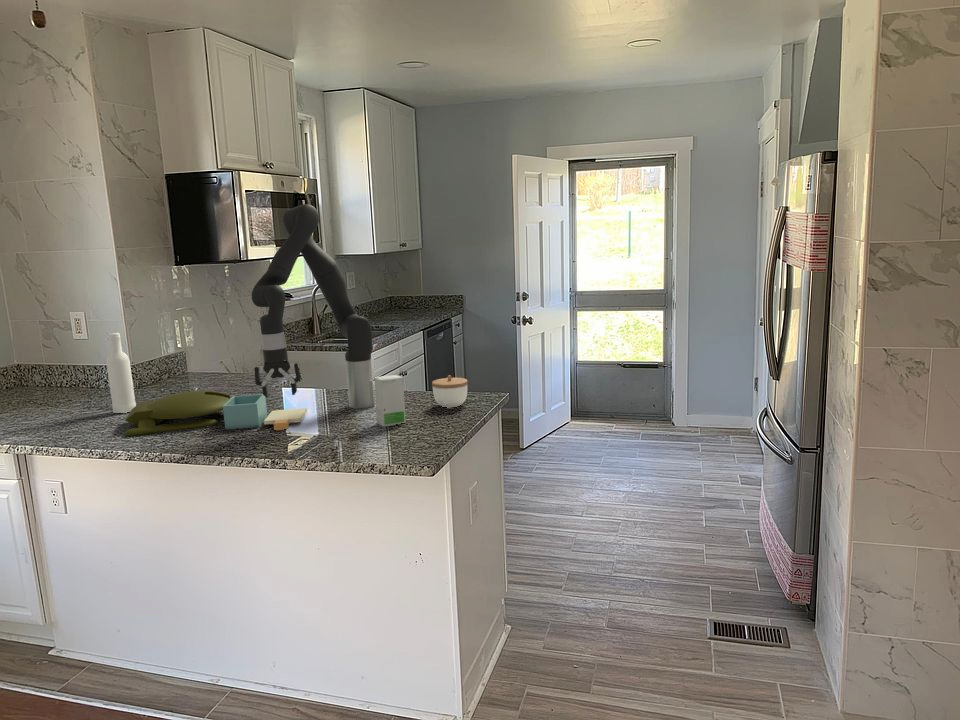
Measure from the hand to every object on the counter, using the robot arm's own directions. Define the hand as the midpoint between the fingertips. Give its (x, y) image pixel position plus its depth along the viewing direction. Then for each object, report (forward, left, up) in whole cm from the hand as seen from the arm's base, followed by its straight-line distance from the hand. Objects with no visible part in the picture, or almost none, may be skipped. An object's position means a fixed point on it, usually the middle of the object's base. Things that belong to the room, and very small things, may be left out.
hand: (280, 395), depth 233 cm
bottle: (+66, -43, -11) cm, 79 cm away
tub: (+14, -12, -11) cm, 21 cm away
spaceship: (+38, -22, -12) cm, 45 cm away
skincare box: (-35, +4, -11) cm, 37 cm away
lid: (+1, -8, -11) cm, 14 cm away
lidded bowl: (-56, -14, -11) cm, 59 cm away
